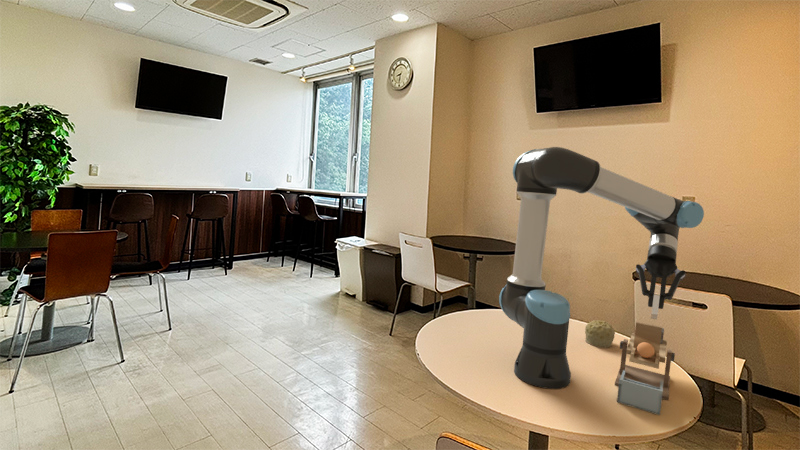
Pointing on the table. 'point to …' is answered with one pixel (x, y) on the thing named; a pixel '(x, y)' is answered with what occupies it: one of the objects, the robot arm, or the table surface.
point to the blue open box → (640, 395)
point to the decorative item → (599, 333)
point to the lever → (652, 337)
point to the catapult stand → (646, 372)
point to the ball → (645, 350)
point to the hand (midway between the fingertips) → (654, 316)
